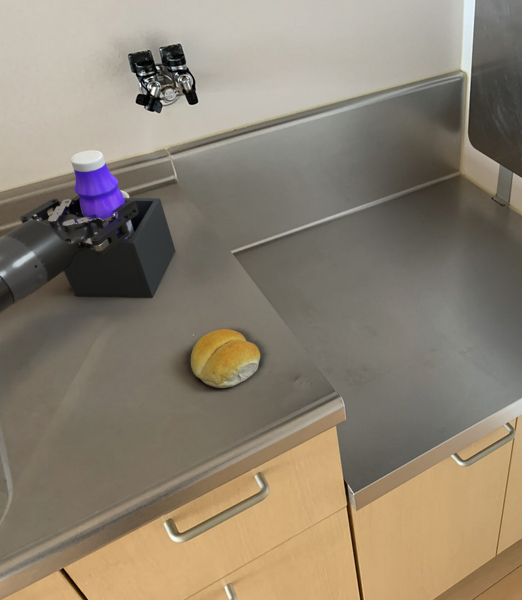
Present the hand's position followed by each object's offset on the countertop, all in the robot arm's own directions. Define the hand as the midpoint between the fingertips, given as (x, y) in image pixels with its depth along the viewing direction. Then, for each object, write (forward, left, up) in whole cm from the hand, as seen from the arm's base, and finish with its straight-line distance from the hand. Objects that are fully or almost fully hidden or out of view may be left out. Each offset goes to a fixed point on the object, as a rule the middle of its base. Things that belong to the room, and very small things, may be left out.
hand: (114, 200), depth 89 cm
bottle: (-1, -2, -10) cm, 10 cm away
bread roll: (+19, -21, -12) cm, 31 cm away
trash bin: (-1, -2, -12) cm, 12 cm away
